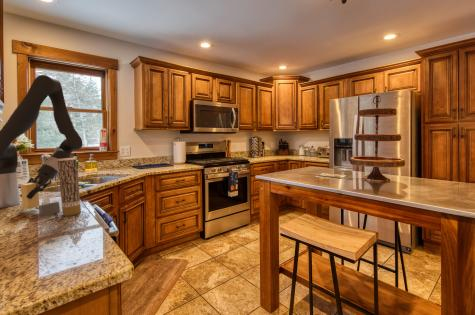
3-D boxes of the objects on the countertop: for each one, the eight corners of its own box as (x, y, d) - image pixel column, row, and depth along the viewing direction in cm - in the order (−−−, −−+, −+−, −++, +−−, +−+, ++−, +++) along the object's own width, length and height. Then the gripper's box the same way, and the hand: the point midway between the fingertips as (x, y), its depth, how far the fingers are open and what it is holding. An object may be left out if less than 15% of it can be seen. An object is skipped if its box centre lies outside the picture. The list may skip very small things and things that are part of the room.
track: (19, 213, 113) (17, 203, 113) (36, 209, 120) (35, 199, 120) (42, 217, 106) (41, 206, 106) (60, 212, 113) (58, 202, 112)
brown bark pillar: (64, 213, 112) (59, 158, 110) (82, 210, 115) (77, 157, 112) (61, 217, 106) (55, 159, 103) (79, 214, 108) (74, 158, 106)
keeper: (22, 207, 114) (20, 184, 113) (33, 205, 118) (31, 182, 117) (28, 208, 112) (25, 185, 112) (39, 206, 117) (37, 183, 116)
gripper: (36, 163, 123) (8, 192, 113) (53, 163, 118) (26, 194, 108) (48, 172, 129) (23, 200, 119) (66, 173, 123) (41, 203, 113)
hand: (25, 197), depth 113 cm, fingers closed on keeper, 4 cm apart
